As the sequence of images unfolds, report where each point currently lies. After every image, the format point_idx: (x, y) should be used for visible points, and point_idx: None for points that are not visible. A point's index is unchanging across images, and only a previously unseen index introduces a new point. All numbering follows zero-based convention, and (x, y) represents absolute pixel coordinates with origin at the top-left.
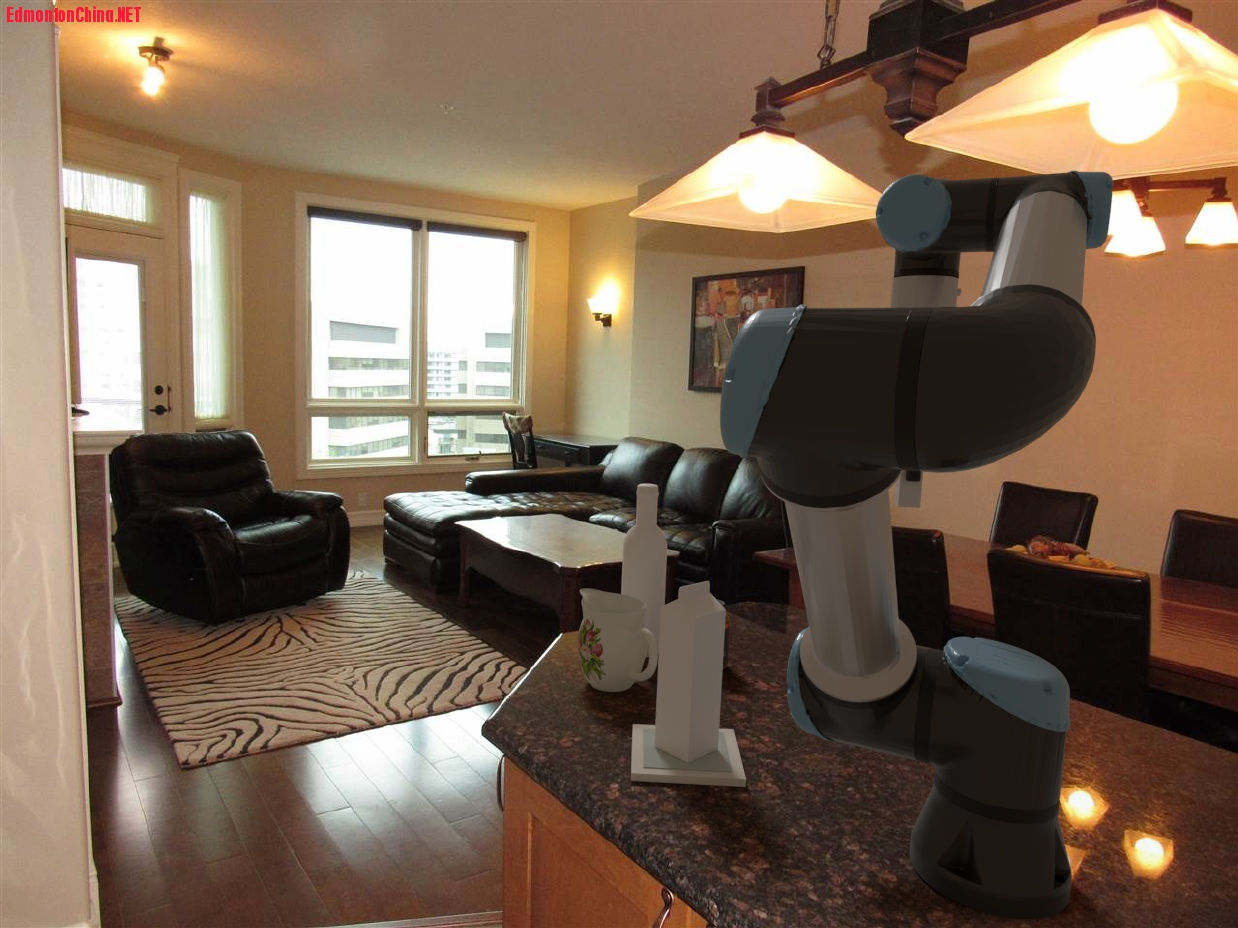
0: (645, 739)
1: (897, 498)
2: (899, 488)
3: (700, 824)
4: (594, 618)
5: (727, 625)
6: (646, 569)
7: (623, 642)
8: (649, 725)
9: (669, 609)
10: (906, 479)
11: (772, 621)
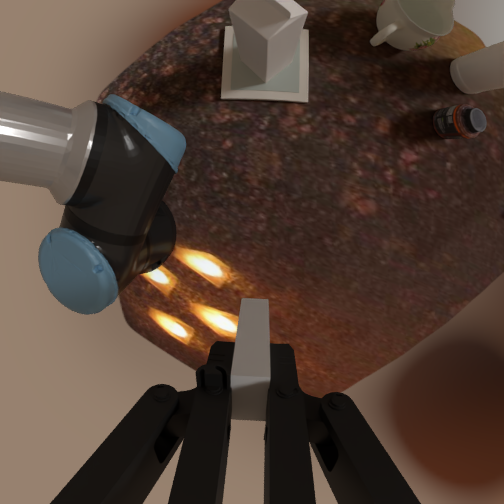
0: None
1: (249, 306)
2: (239, 319)
3: (172, 69)
4: None
5: (459, 132)
6: (498, 56)
7: (388, 16)
8: (307, 40)
9: None
10: (229, 343)
11: None
